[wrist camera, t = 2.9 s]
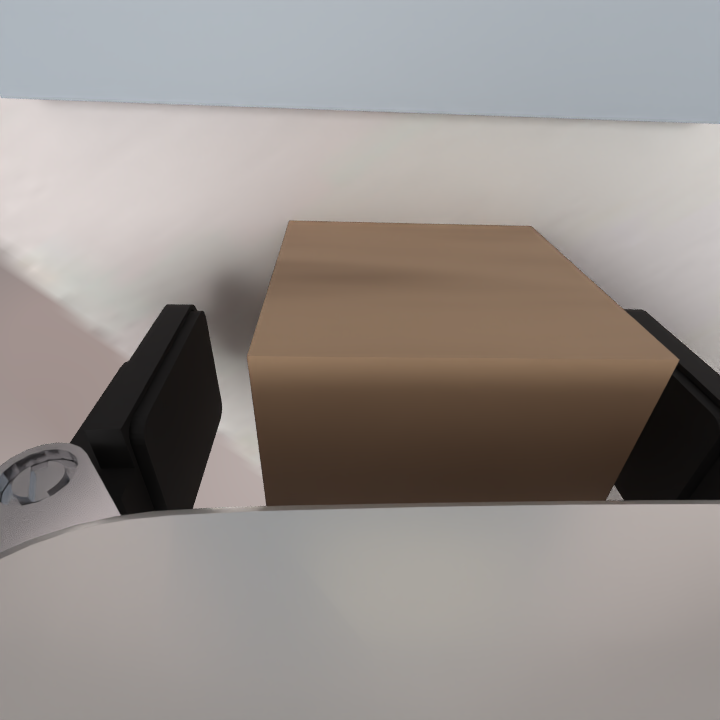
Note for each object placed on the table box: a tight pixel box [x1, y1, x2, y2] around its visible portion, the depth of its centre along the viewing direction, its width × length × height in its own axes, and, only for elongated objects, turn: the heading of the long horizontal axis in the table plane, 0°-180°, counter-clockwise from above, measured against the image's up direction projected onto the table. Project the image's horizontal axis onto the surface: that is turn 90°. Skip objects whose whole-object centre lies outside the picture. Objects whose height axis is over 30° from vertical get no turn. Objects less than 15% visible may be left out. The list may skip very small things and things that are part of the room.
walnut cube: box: [247, 221, 679, 506], centre depth 10 cm, size 6×6×6 cm
